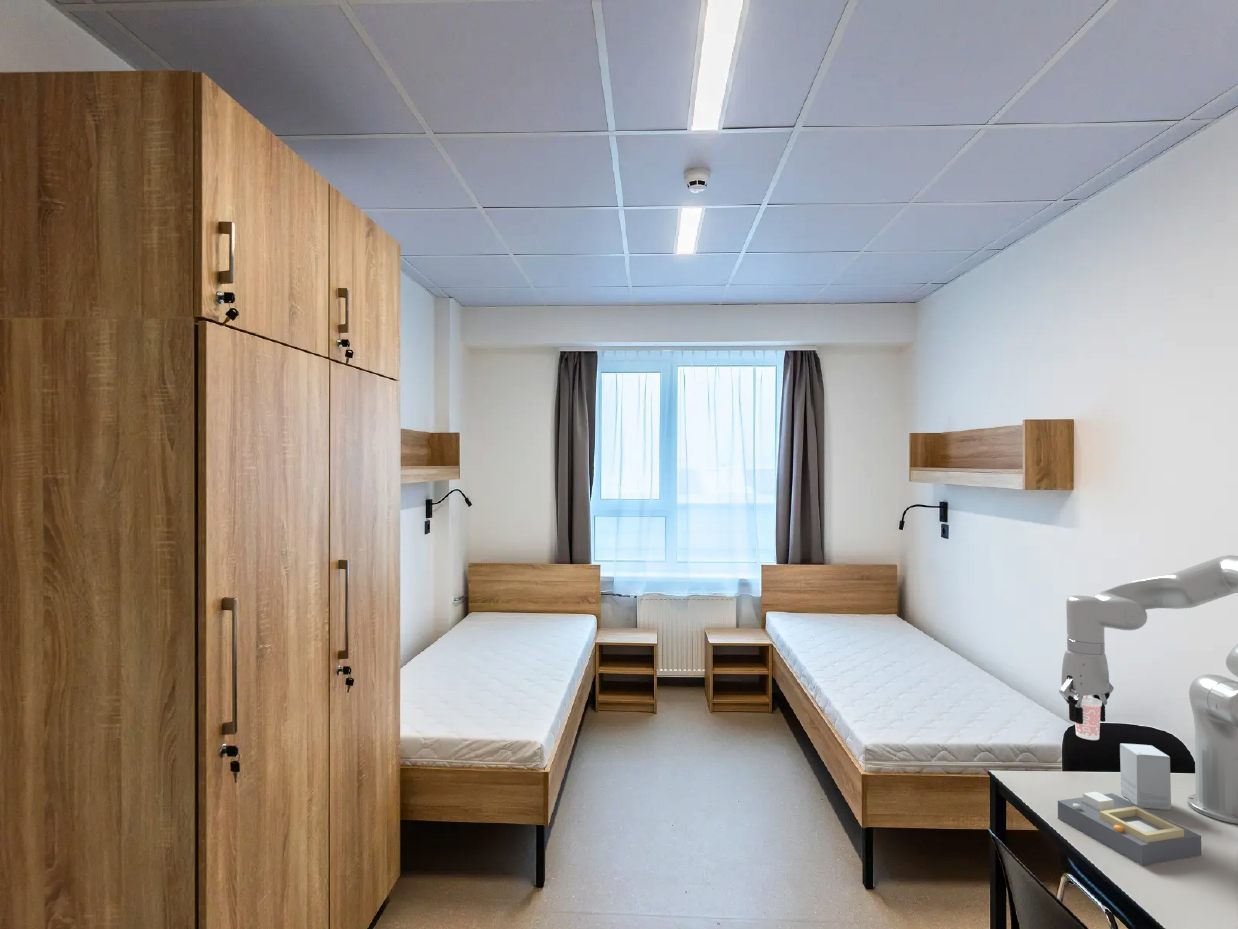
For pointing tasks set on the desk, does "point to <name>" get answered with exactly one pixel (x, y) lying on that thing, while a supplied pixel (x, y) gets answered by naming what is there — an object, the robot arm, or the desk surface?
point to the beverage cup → (1089, 718)
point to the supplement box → (1145, 776)
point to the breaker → (1098, 801)
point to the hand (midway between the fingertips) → (1087, 720)
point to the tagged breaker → (1141, 826)
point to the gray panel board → (1131, 830)
